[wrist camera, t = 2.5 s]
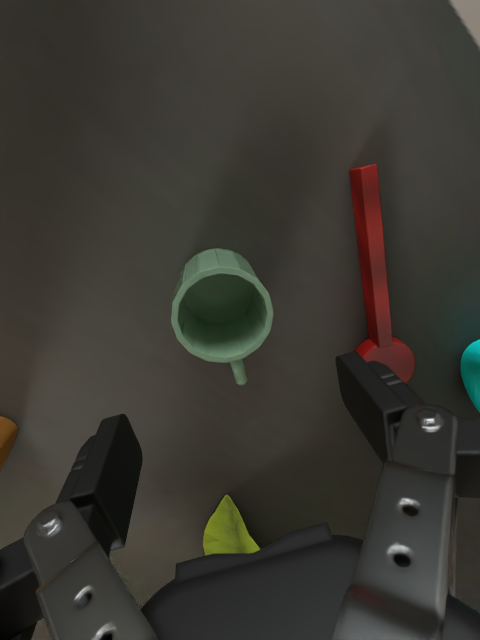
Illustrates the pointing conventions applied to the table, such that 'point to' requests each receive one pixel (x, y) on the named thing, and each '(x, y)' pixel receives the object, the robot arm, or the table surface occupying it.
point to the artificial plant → (227, 531)
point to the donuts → (472, 372)
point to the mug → (221, 309)
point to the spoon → (376, 276)
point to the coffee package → (6, 438)
